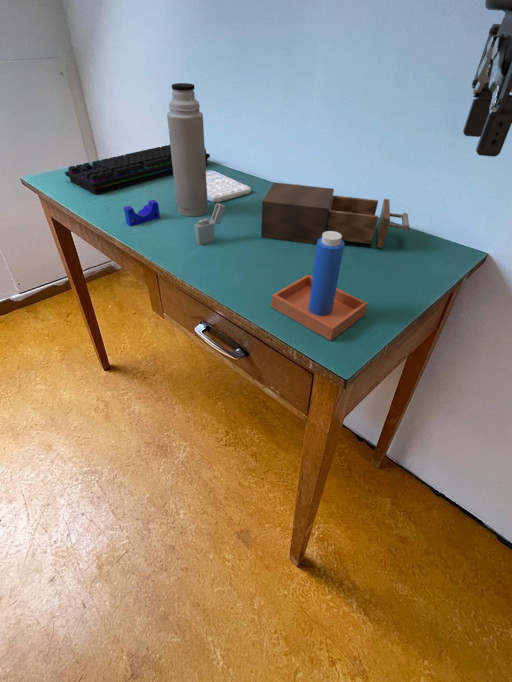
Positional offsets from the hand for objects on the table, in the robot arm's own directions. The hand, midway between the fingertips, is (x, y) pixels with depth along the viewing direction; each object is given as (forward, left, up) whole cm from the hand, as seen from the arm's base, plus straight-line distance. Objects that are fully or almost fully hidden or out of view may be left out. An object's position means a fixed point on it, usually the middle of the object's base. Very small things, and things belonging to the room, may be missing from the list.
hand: (478, 144), depth 44 cm
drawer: (+8, -38, -29) cm, 49 cm away
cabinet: (+24, -38, -30) cm, 54 cm away
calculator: (+52, -59, -30) cm, 84 cm away
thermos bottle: (+52, -42, -30) cm, 73 cm away
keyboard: (+77, -66, -30) cm, 106 cm away
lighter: (+42, -27, -30) cm, 58 cm away
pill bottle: (+15, -6, -30) cm, 33 cm away
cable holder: (+62, -33, -30) cm, 76 cm away
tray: (+15, -6, -30) cm, 34 cm away
